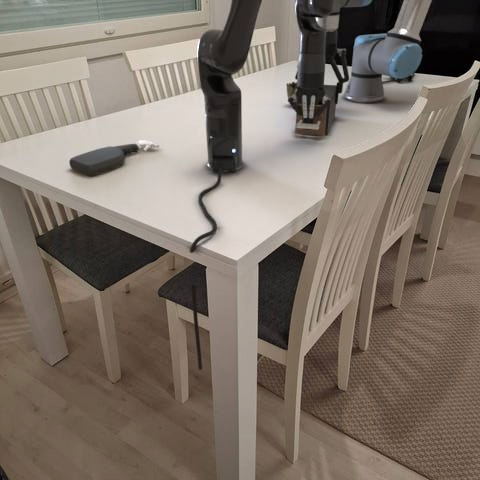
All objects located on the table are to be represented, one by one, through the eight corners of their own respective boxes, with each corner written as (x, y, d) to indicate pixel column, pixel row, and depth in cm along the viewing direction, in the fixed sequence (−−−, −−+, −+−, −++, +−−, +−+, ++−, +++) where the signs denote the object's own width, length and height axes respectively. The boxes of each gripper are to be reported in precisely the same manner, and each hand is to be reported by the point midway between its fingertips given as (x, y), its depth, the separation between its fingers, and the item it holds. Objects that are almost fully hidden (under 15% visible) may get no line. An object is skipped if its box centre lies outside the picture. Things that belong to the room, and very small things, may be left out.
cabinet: (327, 135, 139) (330, 100, 134) (295, 132, 142) (297, 98, 136) (334, 117, 155) (337, 85, 149) (306, 115, 158) (307, 83, 152)
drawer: (321, 142, 131) (323, 111, 127) (291, 139, 134) (292, 109, 129) (331, 118, 151) (333, 91, 146) (305, 116, 153) (307, 90, 148)
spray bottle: (67, 168, 120) (139, 144, 136) (91, 178, 114) (163, 151, 130) (65, 157, 118) (137, 134, 134) (89, 167, 112) (162, 142, 128)
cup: (282, 107, 166) (283, 85, 162) (290, 102, 172) (290, 80, 168) (301, 109, 163) (302, 87, 159) (308, 104, 169) (309, 82, 165)
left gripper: (336, 66, 125) (332, 126, 134) (290, 65, 128) (288, 124, 138) (333, 72, 119) (328, 135, 128) (285, 71, 122) (283, 132, 132)
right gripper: (363, 29, 139) (355, 101, 151) (292, 27, 145) (289, 97, 157) (362, 32, 133) (353, 107, 145) (287, 30, 139) (284, 103, 151)
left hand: (308, 129), depth 133 cm, fingers closed
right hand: (320, 102), depth 151 cm, fingers closed on cabinet, 10 cm apart
